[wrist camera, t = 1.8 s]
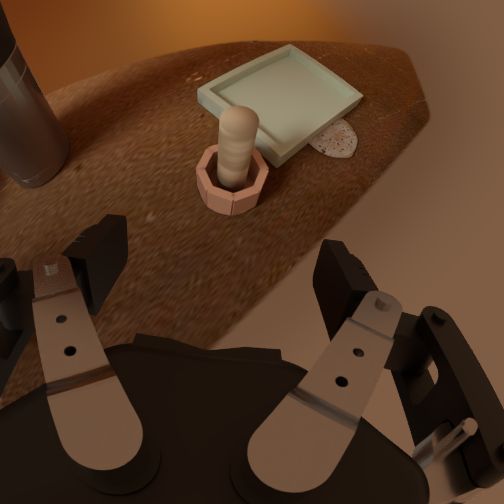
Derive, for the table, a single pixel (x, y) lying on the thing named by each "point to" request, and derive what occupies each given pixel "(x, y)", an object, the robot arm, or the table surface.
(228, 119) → the beech pin
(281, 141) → the sage tray
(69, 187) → the table surface
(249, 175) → the pin holder cup
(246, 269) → the table surface
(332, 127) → the flatbread
